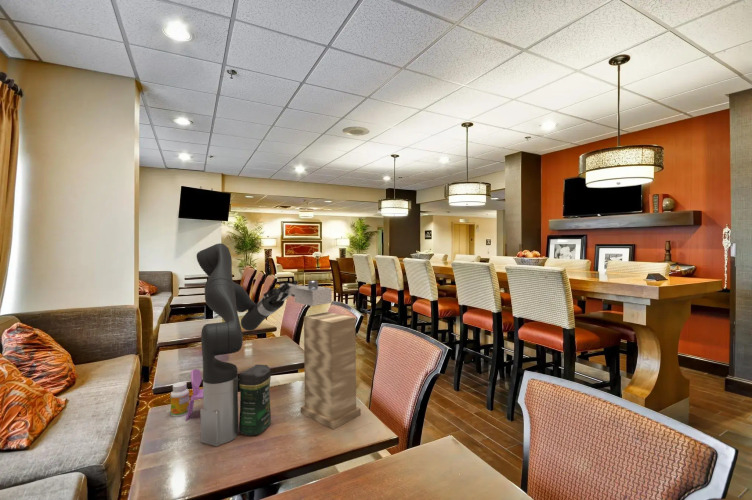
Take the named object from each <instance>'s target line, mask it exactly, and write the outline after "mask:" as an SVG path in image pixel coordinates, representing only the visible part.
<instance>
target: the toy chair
mask: <svg viewBox="0 0 752 500" xmlns="http://www.w3.org/2000/svg"><path fill="white" fill-rule="evenodd" d="M190 378H191V379H190V381H191V388H192V389H191V390H192V393H193V394H192V395H191V396H190V399H189V410H188V413H187V414H186V418H185V422H187V421H188V420H189V418H190V417H191V414H193V410H194V405H195V401H196V400H203V388H200V385H201V383H203V377H202V374H201V370H200V369H198V368H195V369H192V370H191V372H190ZM189 416H190V417H189Z"/></svg>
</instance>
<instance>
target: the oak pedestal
mask: <svg viewBox="0 0 752 500" xmlns="http://www.w3.org/2000/svg"><path fill="white" fill-rule="evenodd" d="M356 340H357V339H356V316H350V315H345V314H339V313H334V312H328V311H326V312H321V313H317V314H310V315H305V316H303V343H304V344H303V347H304V349H303V350H304V351H303V352H304V354H303V355H304V356H303V357H304V359H303V360H304V361H303V362H304V363H303V364H304V366H303V367H304V405H302V406H300V414H302V415H304V416H306V417H308V418H309V419H312V420H314V421H315V422H318V423H320V424H321V425H323V426H324V427H326V428H329V429H330V430H335V429H338V428H339V427H341V426H342V425H344V424H347V423H348V422H350V421H352V420H354V419H355V418H357V417H359V416H361V411H362V410H361V408H360V407H359V406H357V365H356V364H357V361H356V359H357V355H356V353H357V350H356V348H357V347H356V346H357V345H356Z"/></svg>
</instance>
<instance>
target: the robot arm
mask: <svg viewBox="0 0 752 500" xmlns="http://www.w3.org/2000/svg"><path fill="white" fill-rule="evenodd" d="M196 261H197V263H198V265H199V267H200V268H201V269H202V271H203V272H204V273H205V274H206V275H207V277H208V278H207V280H206V282H205V285H204V301H205V304H206V305H207V306H208V308H209V309H210V310H211V311H212V312H214V313H215V314H217V315H218V316H220V317H221V318H222V320H224V321H222V322H213V323H207V324H204V325H203V326H202V328H201V334H200V342H201V355H202V356H201V357H202V389H203V399H202V403H203V404H202V408H200V443H203V444H206V445H211V446H214V447H219V446H220V445H224V444H226V443H229V442H231V441H233V440H234V439H236V438H237V436H239V397H238V396H239V390H238V389H239V388H238V387H239V379H238V366H237V365H236V364H234V363H231V362H227V361H223V360H219V359H218V358H216V356H222V355H223V356H224V355H230V354H235V353H238V352H239V351H240V350H242V347H243V339H244V338H243V331H242V329H244V330H245V331H249V332H252V331H254V330H255V329H257V328H258V327H259V326H260V325H261V324H262V322H263V321H264V320H265V319H267V318H268V317H270V316H271V315H272V314H274V313H275V312H277V310H279V309H280V308H281V307H283V305H284V304H285V300H287V299H288V298H289V297H293V298H295V295H294V294H288V293H283V292H285V291H286V290H288V289H289V285H288V284H289V282H285V283H283V284H284V285H283V286H282V287H280V286H279V287H274V288H272V289H270V290H269V291H266V292H265V293H263V294H262V295H263V297H261V298H260V300H259V301H258V302H254V301H253V300H252V298H251V297H250V295H249V294H248V292H247V291H246V290H245V288H244V287H243V286H241V285H240V284H239V283H236V282H235V281H234V280H233V265H232V264H233V263H232V262H233V261H232V254H231V252H230V249H229V247H227V245H225V244H224V243H215V244H213V245H211V246H209V247H206V248H204V249H202V250H199V251H198V252H197V253H196ZM291 284H295V285H298V283H297V282H296V281H294V282H292V283H291ZM244 312H246V313H245V314H244V315H243V316H242V318H241V320H240V318H239V314H238V313H244Z"/></svg>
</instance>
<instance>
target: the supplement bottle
mask: <svg viewBox="0 0 752 500" xmlns="http://www.w3.org/2000/svg"><path fill="white" fill-rule="evenodd" d="M189 402H190V390H189V389H188V387H187V382H186V381H179V382H177V383H174V384H173V385H172V391H171V392H170V415H171V416H172V417H174V418H176V417H178V418H179V417H182V416H184V415H187V414H188V410H189Z"/></svg>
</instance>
